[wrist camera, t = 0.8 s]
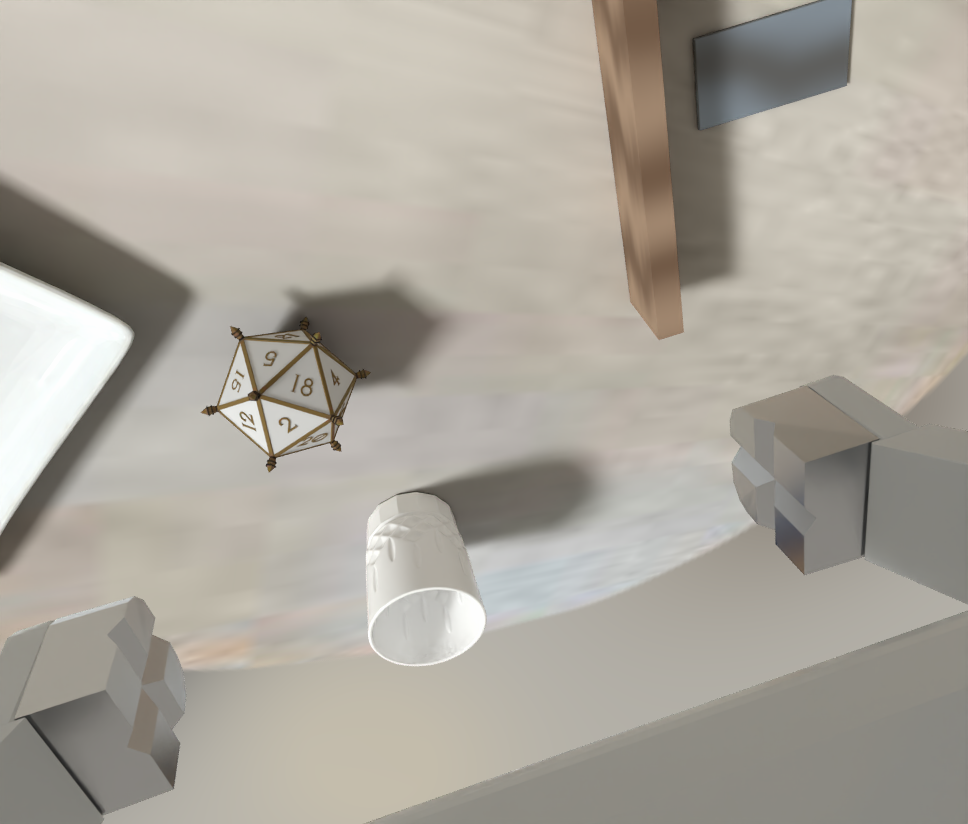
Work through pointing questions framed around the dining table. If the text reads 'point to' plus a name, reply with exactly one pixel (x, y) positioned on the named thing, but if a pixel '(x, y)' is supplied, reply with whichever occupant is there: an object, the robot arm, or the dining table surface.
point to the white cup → (420, 583)
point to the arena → (720, 98)
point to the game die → (286, 391)
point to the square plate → (47, 374)
